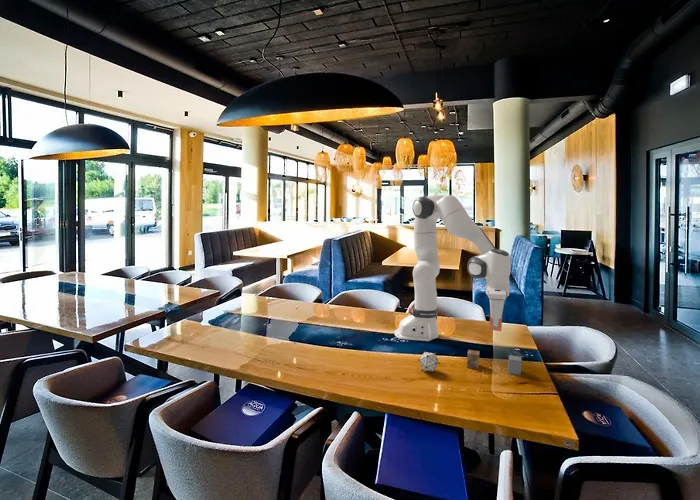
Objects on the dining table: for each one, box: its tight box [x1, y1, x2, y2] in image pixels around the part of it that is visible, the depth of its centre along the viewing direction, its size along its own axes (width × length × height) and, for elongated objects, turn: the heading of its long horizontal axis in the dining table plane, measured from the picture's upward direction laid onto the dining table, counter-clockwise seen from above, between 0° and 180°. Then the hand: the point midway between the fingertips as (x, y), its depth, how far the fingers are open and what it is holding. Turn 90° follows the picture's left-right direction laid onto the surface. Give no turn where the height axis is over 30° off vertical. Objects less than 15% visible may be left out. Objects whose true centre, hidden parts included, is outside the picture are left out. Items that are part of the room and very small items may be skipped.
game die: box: [417, 350, 442, 374], centre depth 158 cm, size 9×8×10 cm
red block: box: [489, 311, 503, 332], centre depth 159 cm, size 4×4×6 cm
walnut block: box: [466, 349, 480, 370], centre depth 164 cm, size 4×4×6 cm
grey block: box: [507, 354, 522, 376], centre depth 158 cm, size 4×4×6 cm
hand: (495, 323), depth 159 cm, fingers closed on red block, 4 cm apart
